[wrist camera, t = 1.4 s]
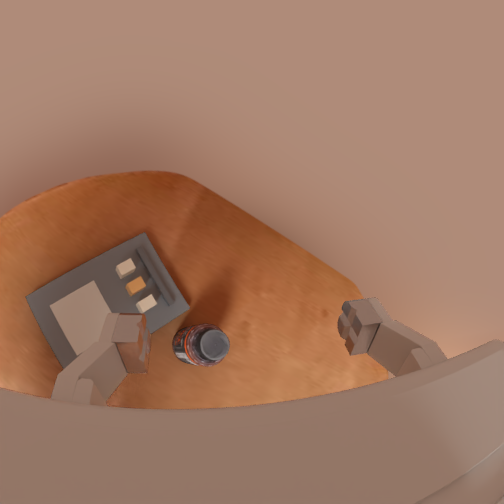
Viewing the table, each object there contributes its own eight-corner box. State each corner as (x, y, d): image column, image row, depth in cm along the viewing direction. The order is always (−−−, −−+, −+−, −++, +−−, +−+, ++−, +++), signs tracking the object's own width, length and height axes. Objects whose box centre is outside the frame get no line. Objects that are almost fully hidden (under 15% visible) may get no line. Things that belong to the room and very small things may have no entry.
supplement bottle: (182, 320, 45) (207, 311, 36) (212, 339, 47) (244, 336, 37) (164, 351, 42) (184, 352, 33) (195, 370, 43) (224, 375, 34)
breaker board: (74, 382, 33) (71, 385, 30) (28, 299, 33) (21, 293, 30) (186, 309, 46) (195, 306, 42) (142, 236, 46) (147, 226, 42)
